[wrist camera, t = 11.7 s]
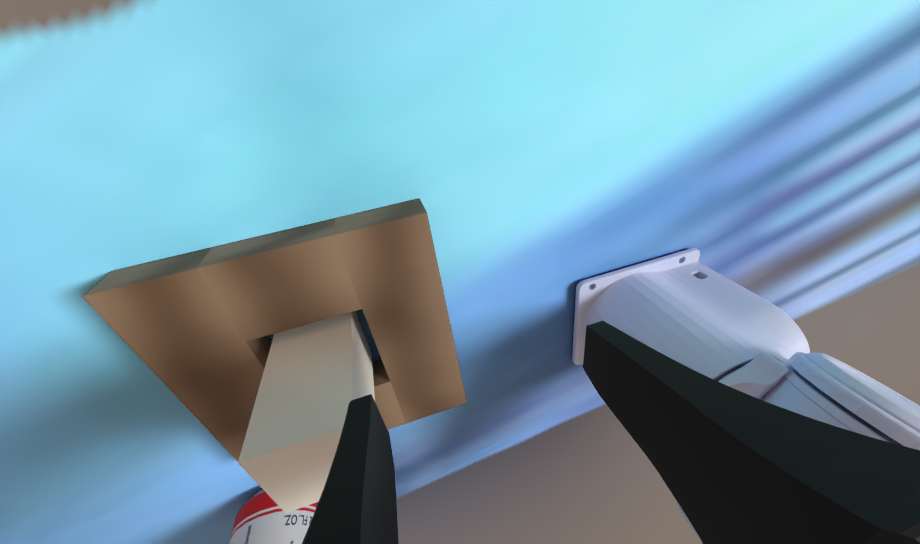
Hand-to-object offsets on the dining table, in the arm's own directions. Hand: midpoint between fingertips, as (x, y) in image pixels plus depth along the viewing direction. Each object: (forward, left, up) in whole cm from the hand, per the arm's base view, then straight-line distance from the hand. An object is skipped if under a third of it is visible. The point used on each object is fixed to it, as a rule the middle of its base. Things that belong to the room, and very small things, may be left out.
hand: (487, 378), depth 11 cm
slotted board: (+7, +4, -9) cm, 12 cm away
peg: (+7, +4, -9) cm, 12 cm away
